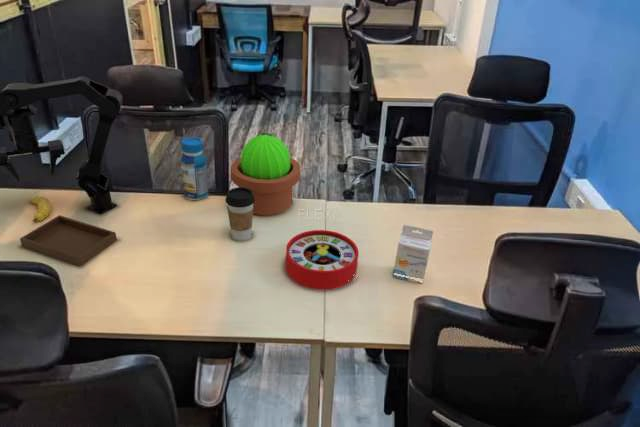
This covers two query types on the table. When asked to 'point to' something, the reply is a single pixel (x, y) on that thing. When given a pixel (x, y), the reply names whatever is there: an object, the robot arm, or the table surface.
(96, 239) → the tray
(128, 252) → the table surface
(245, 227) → the coffee cup
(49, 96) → the robot arm
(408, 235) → the ink box
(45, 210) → the banana
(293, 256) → the toy clock
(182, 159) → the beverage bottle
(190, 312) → the table surface
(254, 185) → the potted cactus
